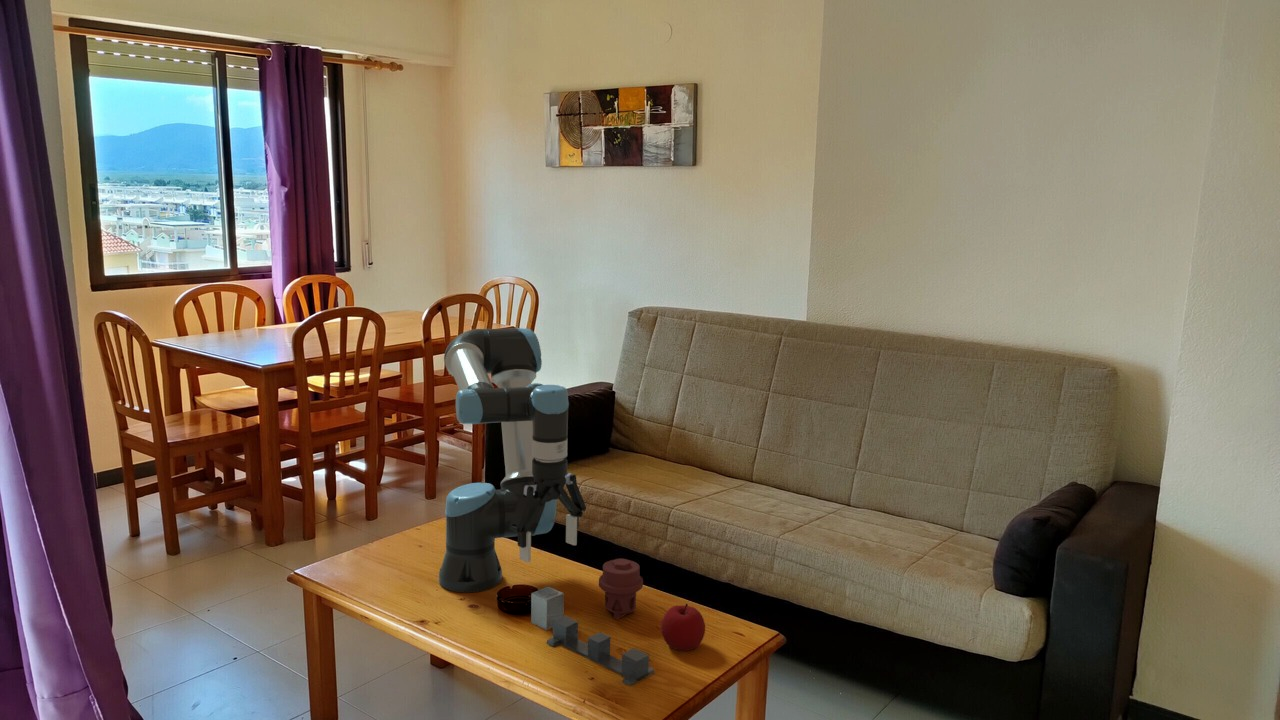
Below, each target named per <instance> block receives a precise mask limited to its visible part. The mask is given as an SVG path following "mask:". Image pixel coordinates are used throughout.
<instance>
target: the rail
mask: <svg viewBox="0 0 1280 720" xmlns="http://www.w3.org/2000/svg"><path fill="white" fill-rule="evenodd" d="M546 644H547V645H549V646H550V647H553V648H554V647H556V646H559V645H560V646H563V648H567V649H568V650H571V651H572V652H574V653H577V655H581V656H583V657H584V658H587V659H589V661H593V662H595V663H597V664H599V665H601V666H602V667H605V668H606V669H608V670H610V671H613V672H614V673H616V674H619V675H621V676H622V677H623V678H622V683H623V684H625V685H628V686H629V687H631V686H633V685H635V684H636V683H639V682H640V681H642V680H643V679H645V678H648V677H649V676H651V675H653V674H655V668H653V667H651V666H649V665H650V664H649V663H650V655H649V654H648V653H646V652H643V651H641V650H639V649H638V648H635V647H633V648H631V649H629V650H627V651H625V652H623V653H622V654H621V659H619V658H617V657H615V656H613V655H611V636H609V635H608V634H605V633H603V632H600V631H599V632H597V633H595V634H593V635H591V636H589V637H587V643H586V642H584V641H582V640H580V639H579V621H577V620H575V619H573V618H571V617H569V616H567V615H563V617H561V618H559V619H556V620H554V621H553V628H552V637H551V638H548V639H546Z"/></svg>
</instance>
